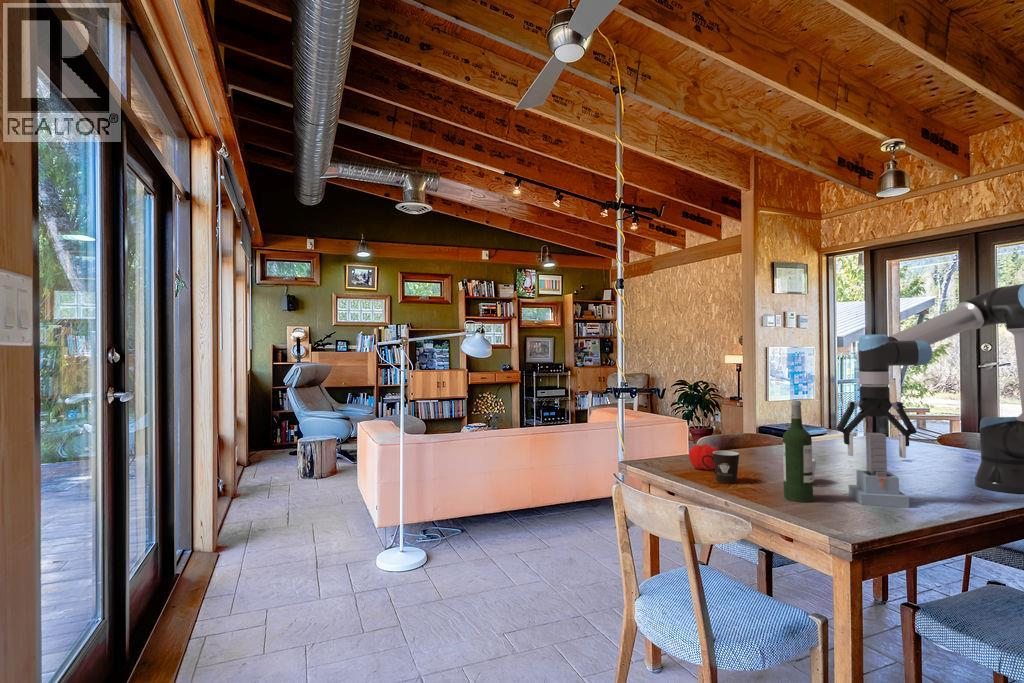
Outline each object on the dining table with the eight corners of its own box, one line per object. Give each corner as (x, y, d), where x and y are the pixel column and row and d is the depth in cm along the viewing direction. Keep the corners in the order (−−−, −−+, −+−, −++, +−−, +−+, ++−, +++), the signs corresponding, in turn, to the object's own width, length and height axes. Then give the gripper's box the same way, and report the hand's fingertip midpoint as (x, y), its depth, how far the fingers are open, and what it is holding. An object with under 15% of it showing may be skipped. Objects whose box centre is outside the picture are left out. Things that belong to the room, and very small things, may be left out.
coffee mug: (745, 482, 185) (744, 453, 185) (730, 486, 180) (729, 456, 181) (715, 476, 195) (715, 448, 195) (700, 479, 190) (700, 451, 190)
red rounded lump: (718, 473, 200) (717, 448, 200) (685, 469, 207) (685, 446, 207) (724, 467, 209) (723, 444, 209) (692, 464, 216) (692, 442, 216)
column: (882, 499, 162) (880, 433, 163) (888, 503, 158) (886, 435, 158) (867, 498, 163) (865, 432, 164) (872, 502, 159) (871, 434, 159)
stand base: (893, 496, 165) (892, 466, 165) (909, 507, 153) (908, 475, 154) (848, 494, 168) (847, 464, 168) (861, 504, 157) (860, 473, 157)
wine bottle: (815, 503, 159) (812, 402, 159) (785, 501, 161) (783, 401, 162) (810, 496, 166) (808, 399, 167) (782, 494, 169) (780, 399, 170)
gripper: (917, 385, 162) (919, 455, 161) (824, 384, 169) (826, 452, 168) (928, 386, 154) (931, 460, 154) (831, 386, 162) (832, 456, 161)
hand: (876, 456), depth 161 cm, fingers open, 13 cm apart
